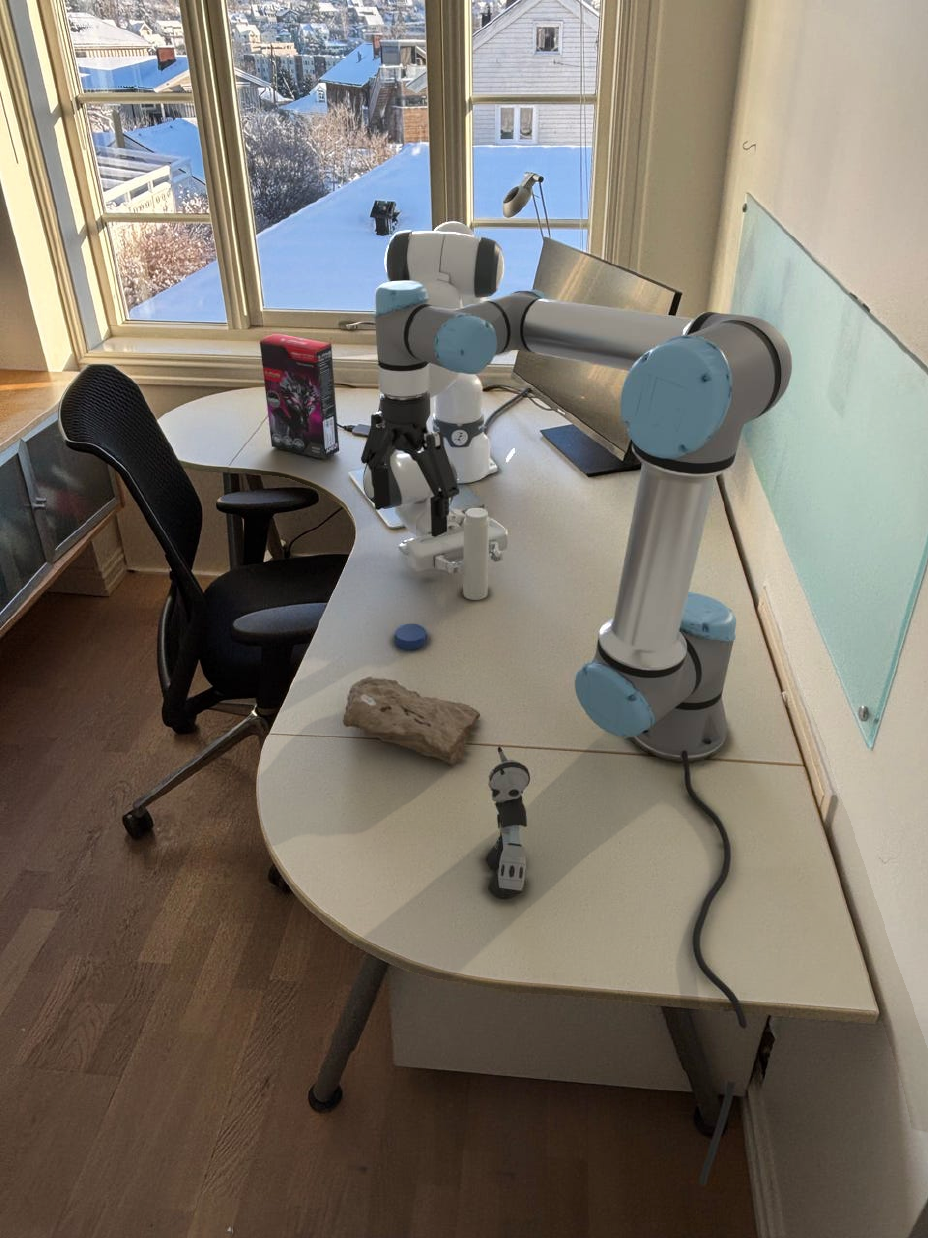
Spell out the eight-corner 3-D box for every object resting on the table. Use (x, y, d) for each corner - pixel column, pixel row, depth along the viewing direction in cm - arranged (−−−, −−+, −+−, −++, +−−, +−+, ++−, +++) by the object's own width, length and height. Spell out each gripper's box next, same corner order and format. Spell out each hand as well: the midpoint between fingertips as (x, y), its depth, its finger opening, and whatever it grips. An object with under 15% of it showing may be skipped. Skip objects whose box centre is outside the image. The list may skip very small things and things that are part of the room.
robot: (531, 936, 111) (540, 818, 100) (491, 937, 111) (496, 820, 100) (516, 817, 127) (522, 704, 116) (481, 818, 127) (484, 705, 116)
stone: (316, 734, 137) (323, 699, 134) (354, 694, 150) (361, 661, 148) (449, 783, 133) (458, 749, 131) (475, 737, 146) (484, 705, 144)
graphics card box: (269, 447, 232) (256, 339, 216) (286, 438, 237) (274, 331, 221) (325, 461, 225) (316, 350, 210) (341, 451, 230) (333, 342, 215)
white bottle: (461, 598, 174) (461, 516, 165) (465, 585, 178) (466, 505, 168) (485, 601, 174) (487, 519, 164) (489, 588, 177) (491, 507, 168)
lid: (421, 652, 160) (421, 643, 159) (390, 647, 161) (390, 638, 160) (430, 634, 164) (430, 626, 163) (401, 629, 165) (400, 621, 164)
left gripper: (394, 529, 176) (427, 562, 166) (487, 507, 184) (523, 536, 174) (395, 558, 179) (427, 592, 169) (486, 534, 188) (522, 565, 178)
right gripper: (482, 405, 132) (482, 537, 143) (369, 367, 147) (377, 489, 158) (445, 419, 127) (447, 553, 139) (332, 378, 142) (343, 503, 154)
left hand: (477, 563), depth 172 cm, fingers open, 8 cm apart
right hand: (410, 519), depth 149 cm, fingers open, 13 cm apart
